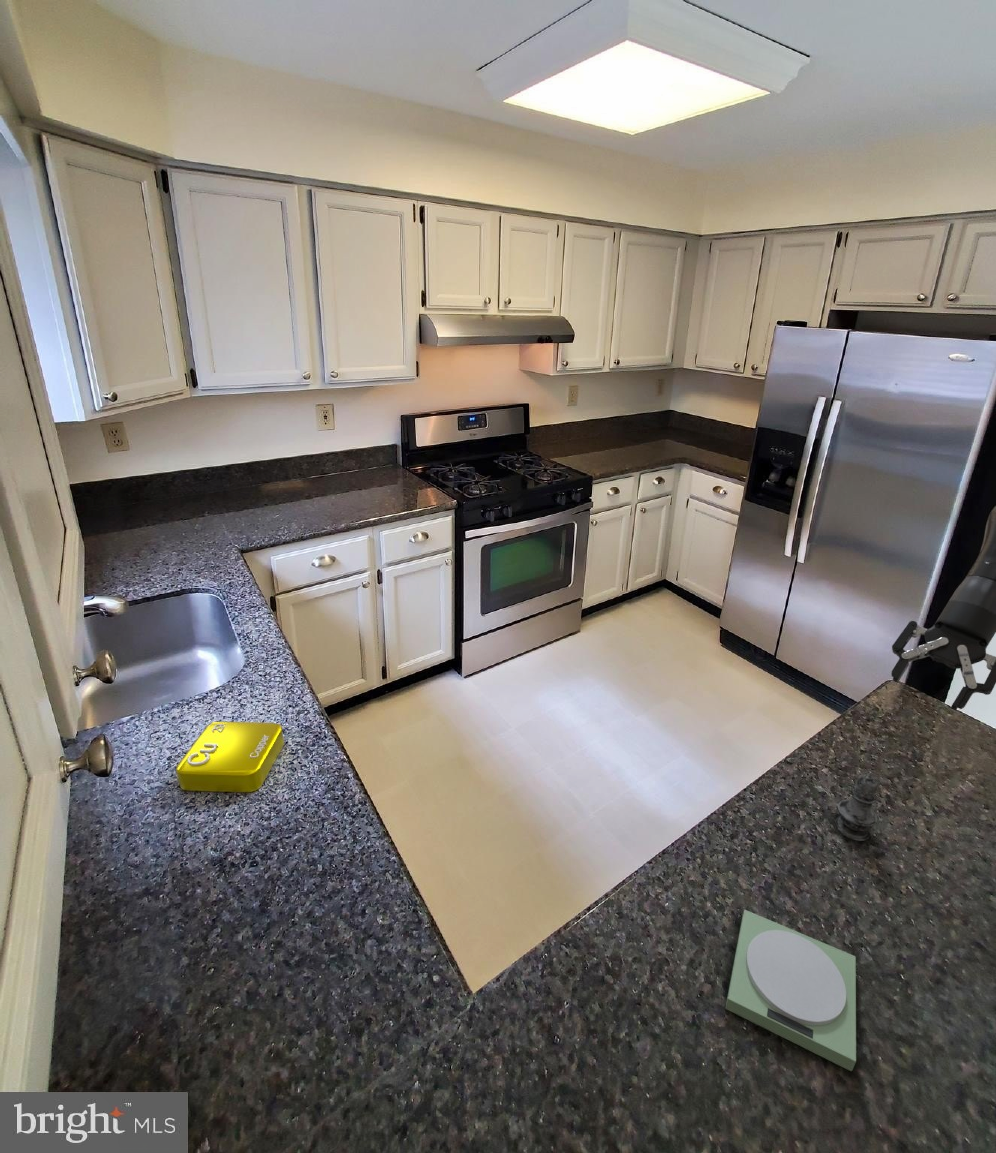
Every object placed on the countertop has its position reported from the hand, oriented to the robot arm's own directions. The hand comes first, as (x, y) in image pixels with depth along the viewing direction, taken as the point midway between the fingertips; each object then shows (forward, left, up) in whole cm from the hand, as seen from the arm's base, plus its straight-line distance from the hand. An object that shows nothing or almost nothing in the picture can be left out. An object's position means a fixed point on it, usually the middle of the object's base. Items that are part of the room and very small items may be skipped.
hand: (923, 694), depth 97 cm
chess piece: (+5, +8, -24) cm, 26 cm away
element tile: (+109, +49, -24) cm, 122 cm away
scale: (+12, +42, -24) cm, 50 cm away
